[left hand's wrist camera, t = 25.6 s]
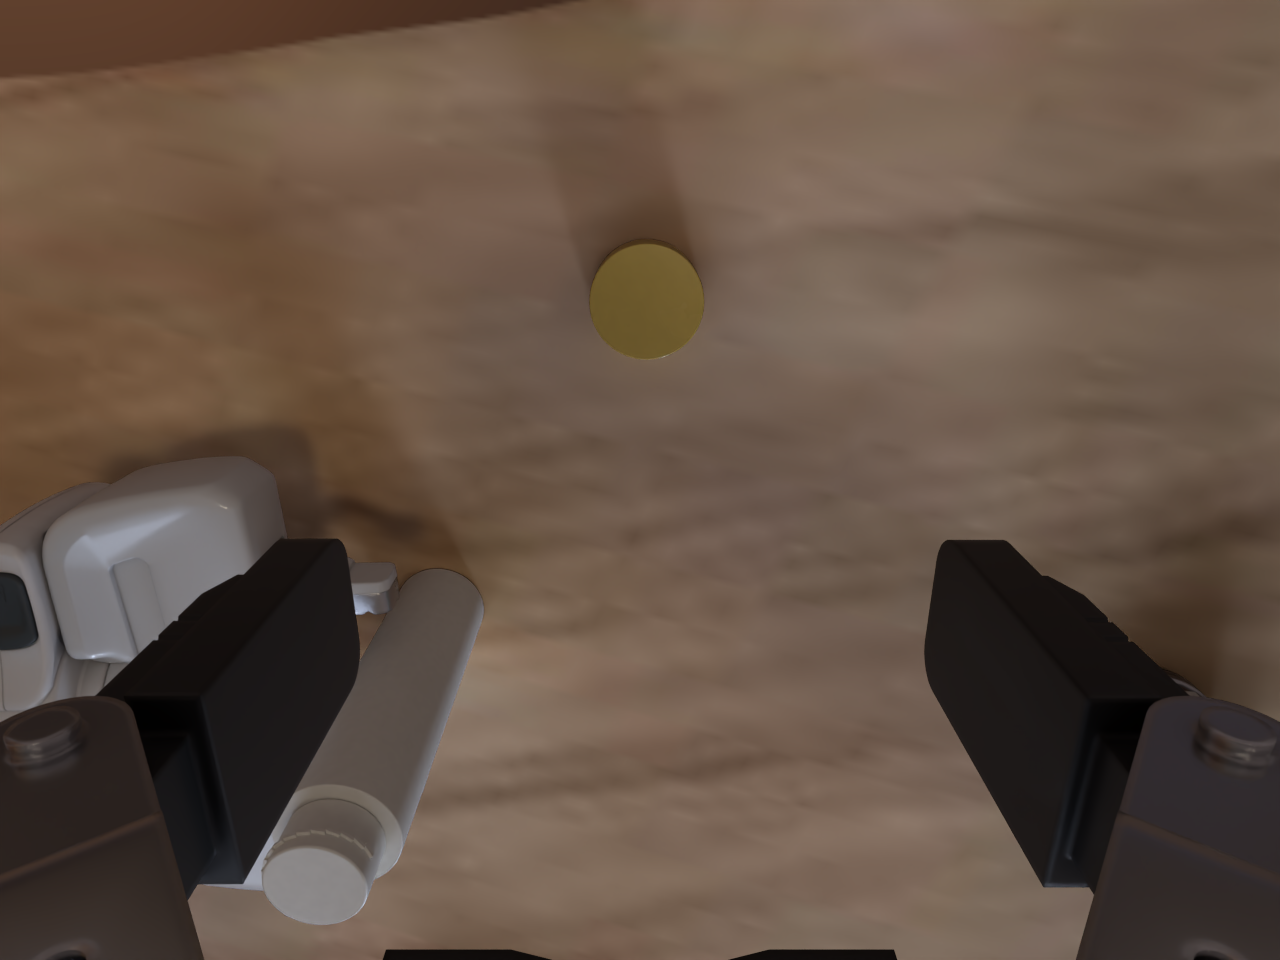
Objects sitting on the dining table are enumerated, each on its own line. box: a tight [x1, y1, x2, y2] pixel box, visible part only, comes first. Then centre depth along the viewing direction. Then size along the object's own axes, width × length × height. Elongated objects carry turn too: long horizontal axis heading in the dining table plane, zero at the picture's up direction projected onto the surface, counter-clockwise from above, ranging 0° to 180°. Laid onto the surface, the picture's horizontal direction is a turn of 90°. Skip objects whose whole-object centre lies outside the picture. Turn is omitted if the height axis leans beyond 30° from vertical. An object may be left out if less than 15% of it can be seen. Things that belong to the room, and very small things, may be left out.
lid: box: [589, 239, 704, 360], centre depth 34 cm, size 5×5×2 cm
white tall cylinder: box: [261, 569, 484, 925], centre depth 33 cm, size 4×4×17 cm
